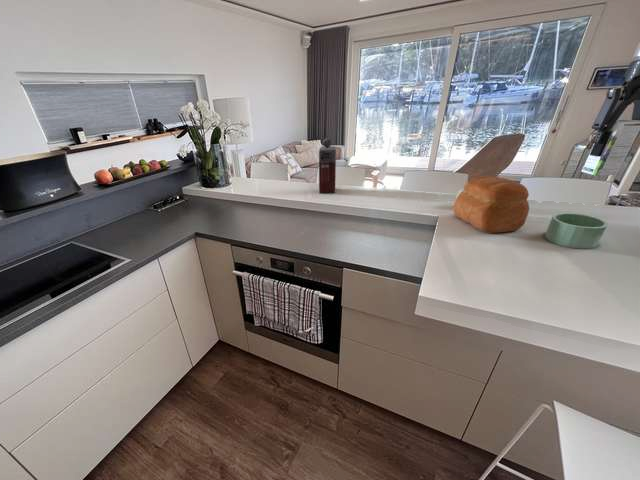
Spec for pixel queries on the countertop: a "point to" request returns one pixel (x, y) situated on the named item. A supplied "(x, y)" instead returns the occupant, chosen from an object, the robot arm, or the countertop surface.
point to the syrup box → (613, 149)
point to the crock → (575, 230)
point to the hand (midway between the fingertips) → (607, 154)
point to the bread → (493, 204)
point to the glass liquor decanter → (327, 167)
